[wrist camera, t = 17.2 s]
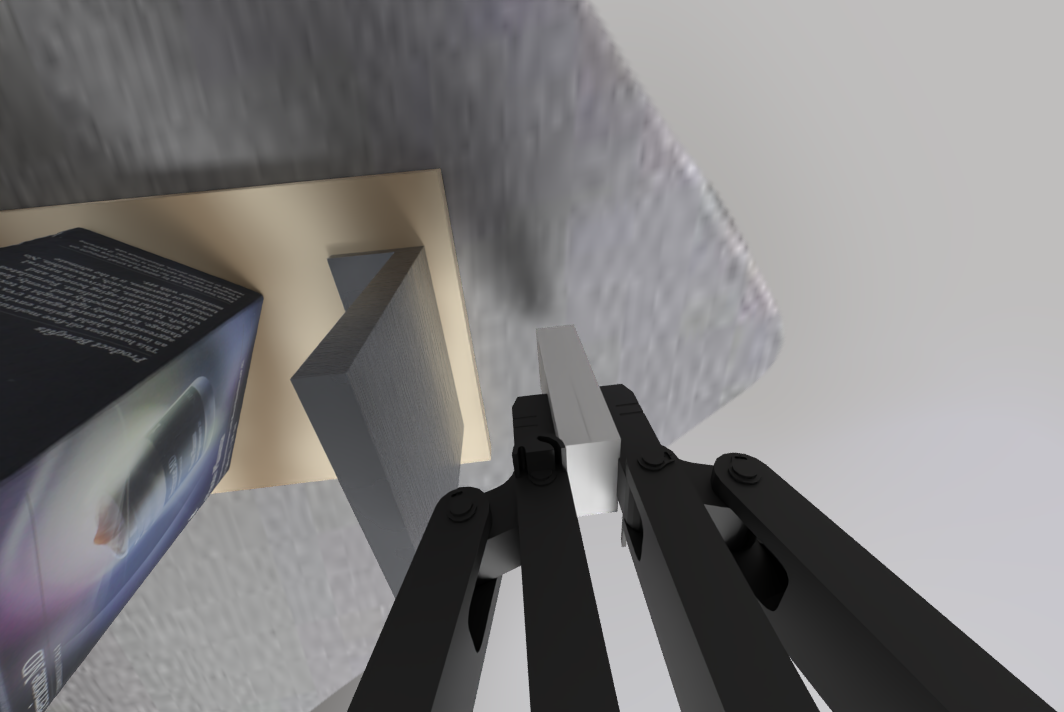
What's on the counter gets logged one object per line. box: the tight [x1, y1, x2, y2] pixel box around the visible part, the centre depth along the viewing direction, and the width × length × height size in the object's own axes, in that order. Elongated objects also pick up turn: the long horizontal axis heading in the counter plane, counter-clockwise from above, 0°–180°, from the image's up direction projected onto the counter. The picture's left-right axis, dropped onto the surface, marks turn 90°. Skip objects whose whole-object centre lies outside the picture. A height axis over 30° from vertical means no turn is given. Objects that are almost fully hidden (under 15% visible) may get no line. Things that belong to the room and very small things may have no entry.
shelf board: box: [0, 168, 491, 494], centre depth 17 cm, size 34×14×1 cm, turn 95°
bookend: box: [290, 246, 464, 599], centre depth 13 cm, size 4×9×9 cm, turn 5°
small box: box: [0, 227, 264, 712], centre depth 12 cm, size 11×6×10 cm, turn 153°
